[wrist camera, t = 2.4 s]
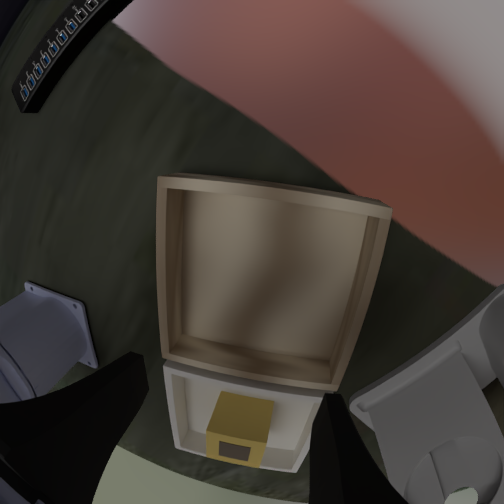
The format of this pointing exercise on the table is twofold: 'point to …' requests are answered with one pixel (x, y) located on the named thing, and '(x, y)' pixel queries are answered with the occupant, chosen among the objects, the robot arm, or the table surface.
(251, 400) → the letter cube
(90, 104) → the table surface
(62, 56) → the multiport hub
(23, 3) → the table surface
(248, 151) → the table surface
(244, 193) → the birch box
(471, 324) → the phone holder
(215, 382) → the white tub
